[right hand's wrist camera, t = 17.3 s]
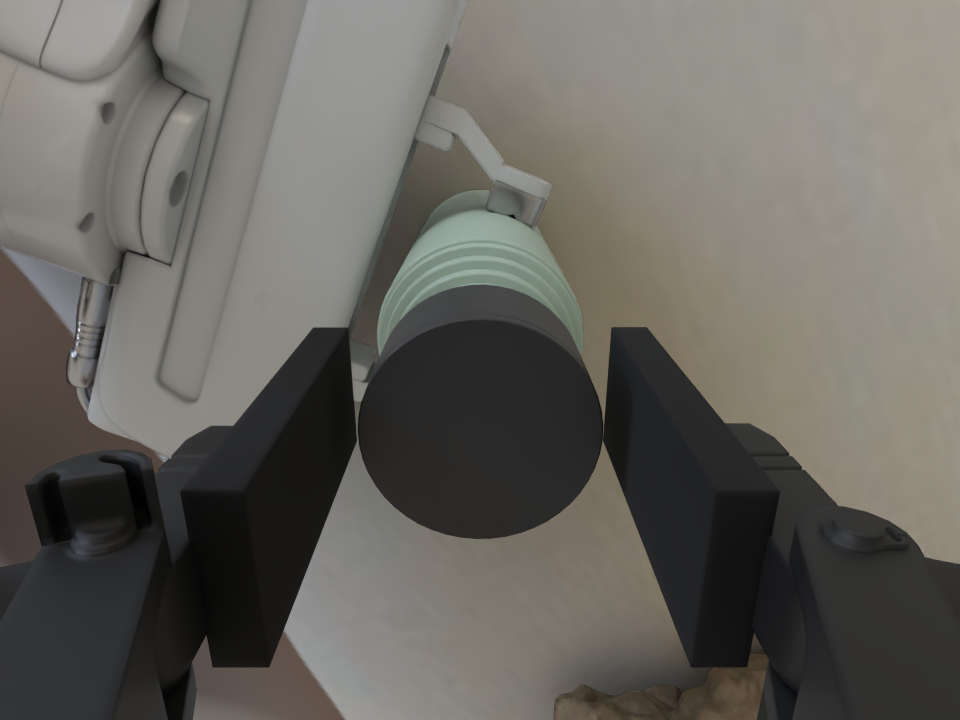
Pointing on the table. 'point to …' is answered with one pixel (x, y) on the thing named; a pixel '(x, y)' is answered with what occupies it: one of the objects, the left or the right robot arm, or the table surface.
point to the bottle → (478, 263)
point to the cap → (480, 414)
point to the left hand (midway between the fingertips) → (504, 296)
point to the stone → (675, 698)
